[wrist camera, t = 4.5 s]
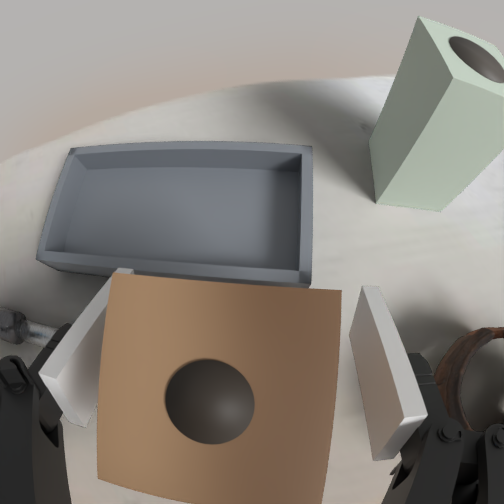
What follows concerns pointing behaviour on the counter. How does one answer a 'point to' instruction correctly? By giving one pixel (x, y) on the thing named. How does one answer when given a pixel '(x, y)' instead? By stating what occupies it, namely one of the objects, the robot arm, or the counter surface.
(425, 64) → the sage block
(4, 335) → the rod
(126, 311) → the walnut block
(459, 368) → the pottery mug
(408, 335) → the counter surface
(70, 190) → the slate tray
